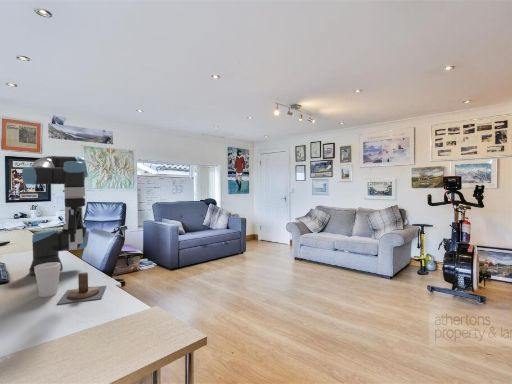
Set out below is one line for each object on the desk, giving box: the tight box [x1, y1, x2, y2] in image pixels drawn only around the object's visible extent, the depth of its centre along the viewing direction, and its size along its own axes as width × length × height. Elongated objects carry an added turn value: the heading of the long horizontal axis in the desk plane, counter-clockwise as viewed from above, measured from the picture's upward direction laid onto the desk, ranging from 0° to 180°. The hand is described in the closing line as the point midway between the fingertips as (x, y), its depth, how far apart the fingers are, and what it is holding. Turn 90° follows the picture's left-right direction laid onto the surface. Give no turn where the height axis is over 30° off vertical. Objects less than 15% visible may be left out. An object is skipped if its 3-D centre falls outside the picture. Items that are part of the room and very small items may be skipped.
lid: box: [67, 272, 99, 299], centre depth 126 cm, size 12×12×9 cm
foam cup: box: [34, 262, 61, 298], centre depth 127 cm, size 10×9×13 cm
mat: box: [56, 285, 107, 306], centre depth 126 cm, size 16×16×1 cm
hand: (76, 246), depth 124 cm, fingers open, 13 cm apart
